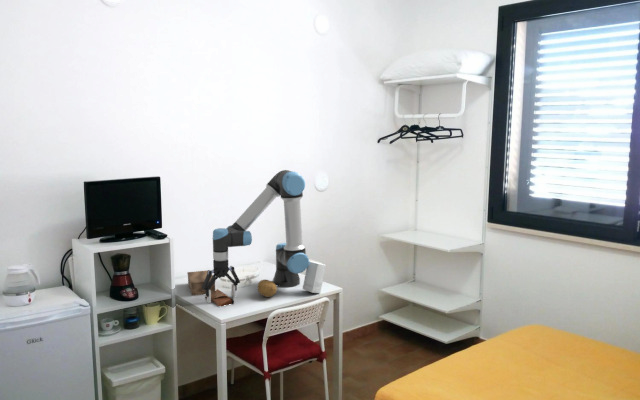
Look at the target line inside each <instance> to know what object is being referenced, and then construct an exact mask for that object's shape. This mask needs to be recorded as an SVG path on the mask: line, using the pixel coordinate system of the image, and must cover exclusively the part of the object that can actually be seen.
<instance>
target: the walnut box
mask: <svg viewBox="0 0 640 400" xmlns="http://www.w3.org/2000/svg"><path fill="white" fill-rule="evenodd" d="M208 270H209V269H208ZM208 270H207V269H206V270H198V271H187V280H188V281H187V282H188V283H187V284H188V287H189V291H190V293H191V296H193V297H194V296H200V295H206V293H205V290H203V289H202V285H203V283H204V281H205V278H206V276H207V271H208ZM213 275H214V274H212V275H211V278H210V280H211V279H212V276H213ZM210 280H209V281H210ZM209 290H211V293H213V292H214V291H216V281H215V282H214V283H213V285H212V286H211V288H210V289H209Z"/></svg>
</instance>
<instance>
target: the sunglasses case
mask: <svg viewBox="0 0 640 400" xmlns="http://www.w3.org/2000/svg"><path fill="white" fill-rule="evenodd" d="M205 299H207V296H205ZM234 302H235V301H234V299H233V297H232V296H231V297H230V295H229V296H228V295H227V294H226V293H224V292H223V291H221V290H220V289H219V288H216V289H215V291H214V292H213V293H211V303H213V304H214V305H215V306H216V307H218V306H221V307H225V306H224V305H226V306H230V305H229V304H231V305H234V304H235V303H234Z"/></svg>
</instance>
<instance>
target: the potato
mask: <svg viewBox="0 0 640 400" xmlns="http://www.w3.org/2000/svg"><path fill="white" fill-rule="evenodd" d="M257 291H258V293H259V294H260V295H261V296H263V297H267V298H270V297H273V296H274V295H276V293H277V291H278V286H276V285H275V283H274V282H273V280H268V279H261V280H260V281H259V282H258V283H257Z"/></svg>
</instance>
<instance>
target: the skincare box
mask: <svg viewBox="0 0 640 400" xmlns="http://www.w3.org/2000/svg"><path fill="white" fill-rule="evenodd" d="M326 267H327V265H326V264H324V263H320V262H316V261H311V260H309V265H308V267H307V268H306V270H305V275H304V280H303V284H302V290H304V291H306V292H310V293H312V294H313V293H314V294H321V292H322V287H323V283H324V282H323V281H324V276H325V271H326Z"/></svg>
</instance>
